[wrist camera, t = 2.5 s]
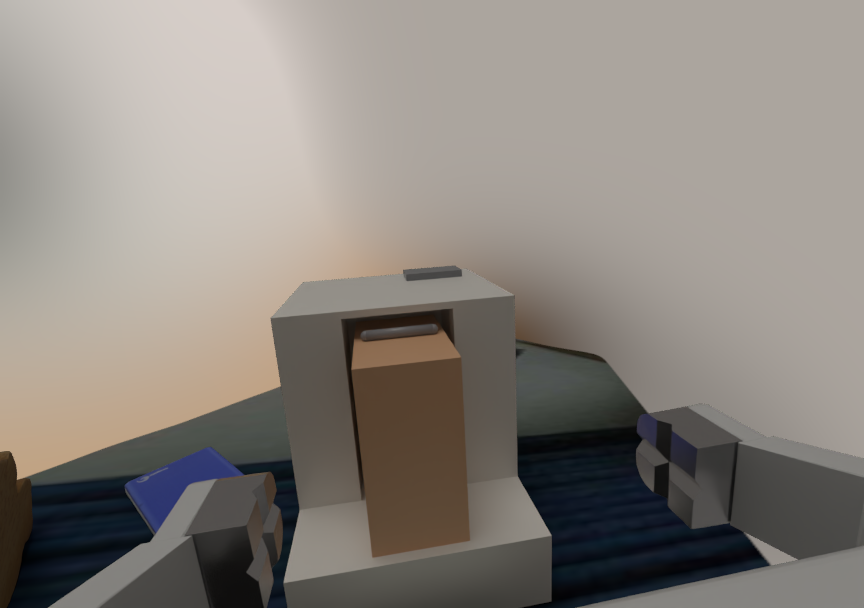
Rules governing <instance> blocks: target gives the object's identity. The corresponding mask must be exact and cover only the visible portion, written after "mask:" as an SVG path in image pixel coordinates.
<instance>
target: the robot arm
mask: <svg viewBox="0 0 864 608" xmlns="http://www.w3.org/2000/svg"><path fill="white" fill-rule="evenodd" d="M637 433H638V434H639V436H640V437H641V438H642V442H641V443H640V445H639V446H638V448H637V450H636V464H637V467H638V470H639V473H640V476H641V477H642V479H643V481H644V482H645V484H646V485H647V486H648V487H649V488H650V489H651V490H652V491H653V492H654V493H656V494H659V495H661V496H663V497H666V498H667V499H668V507H669V508H670V509H671V510H672V511H673V512H674V513H675V514H676V515H677V516H678V517H679V518H681V519H682V520H683V521H684V522H685V523H686V524H687V525H688V526H689V527H690V528H691V529H695V528H701V527H707V526H713V525H720V524H726V523H731V524H730V525H732V526H734V527H736V528H738V529H740V530H741V531H743V532H745V533H747V534H749V535H751V536H753V537H755V538H757V539H759V540H761V541H763V542H765V543H767V544H769V545H771V546H773V547H775V548H777V549H779V550H780V551H782V552H784V553H787V554H788V555H791V556H792V557H794V558H796V559H798V560H796V561H792V562H787V563H782V564H777V565H773V566H768V567H763V568H759V569H754V570H749V571H745V572H740V573H735V574H731V575H726V576H721V577H717V578H712V579H707V580H703V581H698V582H693V583H689V584H684V585H679V586H675V587H670V588H665V589H661V590H656V591H651V592H647V593H642V594H637V595H633V596H628V597H623V598H619V599H614V600H610V601H605V602H600V603H596V604H591V605H587V606H582V607H577V608H864V458H860V457H856V456H852V455H848V454H844V453H840V452H836V451H832V450H828V449H823V448H819V447H815V446H811V445H807V444H803V443H799V442H794V441H790V440H787V439H783V438H778V437H774V436H773V437H766V436H764V435H762V434H760V433H759V432H757V431H755V430H753V429H751V428H750V427H748V426H746V425H744V424H742V423H741V422H739V421H737V420H735V419H733V418H732V417H730V416H728V415H726V414H724V413H723V412H721V411H719V410H717V409H715V408H714V407H712V406H710V405H707V404H696V405H691V406H687V407H681V408H676V409H671V410H665V411H660V412H654V413H649V414H644V415H640V417H639V420H638V422H637ZM275 494H276V486H275V481H274V476H273V475H272V474H271V472H265V473H257V474H250V475H243V476H235V477H228V478H220V479H212V480H206V481H200V482H195V483H192V484H190V485H188V486H187V488H186V489H185V491H184V492H183V494H182V495H181V497H180V498H179V500H178V501H177V503H176V504H175V506H174V507H173V509H172V510H171V512H170V513H169V515H168V516H167V518H166V519H165V521H164V522H163V524H162V525H161V527H160V528H159V530H158V531H157V533H156V534H155V536H154V537H153V539H152V540H151V542H150V543H144V544H140V545H139V546H137V547H136V548H134V549H133V550H132V551H130V552H129V553H127V554H126V555H124V556H123V557H121V558H120V559H118V560H117V561H115V562H114V563H113V564H111V565H110V566H108V567H107V568H105V569H104V570H102V571H101V572H99V573H98V574H97V575H95V576H94V577H92V578H91V579H89V580H88V581H86V582H85V583H83V584H82V585H81V586H79V587H78V588H76V589H75V590H73V591H72V592H70V593H69V594H67V595H66V596H64V597H63V598H62V599H60V600H59V601H57V602H56V603H54V604H53V605H51V606H50V607H48V608H267V604H268V600H269V596H270V592H271V589H272V585H273V581H274V580H273V575H272V570H271V568H272V567H273V566H274V565H275V564H276V563H277V562H278V561H279V557H280V553H281V549H282V536H283V528H282V517H281V512H280V509H279V508H278V507H277V506H276V505H274V504H273V500H274V497H275Z"/></svg>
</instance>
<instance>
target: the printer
mask: <svg viewBox="0 0 864 608" xmlns="http://www.w3.org/2000/svg"><path fill="white" fill-rule="evenodd" d="M423 315H434V316H435V318H436V319H437V321H438V323H439V324H440V326H441V327H442V329H443V330H444V332H445V333H446V335H447V336H448V338H449V339H450V341H451V342H452V344H453V345H454V347H455V348H456V350H457V352H458V353H459V355H460V356H461V362H462V383H463V404H464V425H465V446H466V467H467V488H468V509H469V530H470V541H466V542H460V543H454V544H449V545H443V546H437V547H431V548H426V549H420V550H414V551H409V552H403V553H397V554H391V555H386V556H380V557H374V558H372V551H371V542H370V533H369V524H368V515H367V506H366V497H365V488H364V479H363V470H362V461H361V452H360V443H359V434H358V425H357V416H356V407H355V398H354V389H353V380H352V371H351V369H352V358H353V348H354V337H355V327H356V322H361V321H371V320H382V319H392V318H402V317H413V316H423ZM271 324H272V331H273V337H274V344H275V350H276V357H277V363H278V370H279V377H280V383H281V390H282V396H283V403H284V409H285V416H286V422H287V429H288V436H289V442H290V449H291V455H292V462H293V468H294V475H295V481H296V488H297V494H298V501H299V508H300V512H299V516H298V521H297V525H296V529H295V534H294V538H293V543H292V547H291V552H290V556H289V561H288V565H287V570H286V574H285V579H284V589H285V595H286V601H287V607H288V608H521V607H526V606H531V605H536V604H541V603H546V602H551V563H552V535H551V534H550V532H549V530H548V529H547V527H546V525H545V523H544V522H543V520H542V518H541V516H540V515H539V513H538V511H537V509H536V508H535V506H534V504H533V502H532V501H531V499H530V497H529V495H528V494H527V492H526V490H525V488H524V487H523V485H522V483H521V481H520V480H519V478H518V474H517V414H516V354H515V296H514V295H513V294H511V293H509V292H508V291H506V290H504V289H502V288H500V287H499V286H497V285H495V284H493V283H491V282H490V281H488V280H486V279H484V278H483V277H481V276H479V275H477V274H475V273H474V272H472V271H470V270H468V269H459V268H458V267H456V266H445V267H433V268H421V269H409V270H403V274H396V275H384V276H372V277H360V278H348V279H338V280H337V279H336V280H324V281H313V282H303V283H302V284H301V285H300V286H299V287H298V288H297V290H296V291H295V292H294V293H293V294H292V295H291V296H290V297H289V298H288V300H287V301H286V302H285V303H284V304H283V305H282V306H281V307H280V308H279V309H278V311H277V312H276V313H275V314H274V315H273V316H272V317H271Z"/></svg>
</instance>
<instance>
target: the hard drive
mask: <svg viewBox="0 0 864 608" xmlns="http://www.w3.org/2000/svg"><path fill="white" fill-rule="evenodd" d="M243 475H244V474H243V473H241V472H240V471H239V470H238V469H237V468H236V467H234V466H233V465H232V464H231V463H230V462H228V461H227V460H226V459H225V458H224V457H222V456H221V455H220V454H219V453H218V452H216V451H215V450H214V449H213V448H212V447H208V448H205V449H202V450H200V451H198V452H196V453H193V454H191V455H189V456H186V457H184V458H182V459H179V460H177V461H175V462H173V463H170V464H168V465H166V466H164V467H161V468H159V469H157V470H154V471H152V472H150V473H148V474H145V475H143V476H141V477H139V478H136V479H134V480H132V481H130V482H128V483H127V484H126V485H125V491H126V494H127V495H128V497H129V498H130V500H131V501H132V503H133V504H134V506H135V507H136V509H137V510H138V512H139V513H140V515H141V516H142V518H143V519H144V521H145V522H146V524H147V525H148V527H149V528H150V530H151V531H152V533H153V534H154V536H155V534H156V533H157V531H158V530H159V528H160V527H161V525H162V524H163V522H164V521H165V519H166V518H167V516H168V515H169V513H170V512H171V510H172V509H173V507H174V506H175V504H176V503H177V501H178V500H179V498H180V497H181V495H182V494H183V492H184V491H185V489H186V488H187V486H188V485H190V484H192V483H195V482H200V481H206V480H212V479H220V478H228V477H235V476H243Z"/></svg>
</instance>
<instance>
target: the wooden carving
mask: <svg viewBox="0 0 864 608" xmlns="http://www.w3.org/2000/svg"><path fill="white" fill-rule="evenodd" d="M32 523H33V520H32V498H31V481H30V479H28V478H24V479H20V480H17V469H16V464H15V461H14V459H13V456H12V454H11V452H10V451H4V452H0V608H7V606H8V604H9V602H10V600H11V596H12V594H13V592H14V589H15V586H16V582H17V579H18V575H19V570H20V566H21V561H22V552H23V549H24V545H25V543H26V542H27V540H28V539H29V537H30V534H31V530H32Z"/></svg>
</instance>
